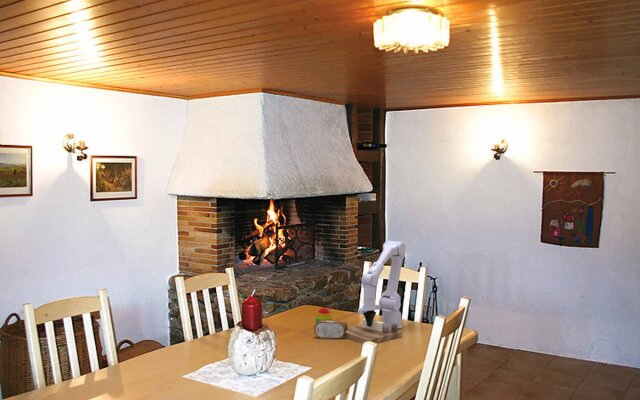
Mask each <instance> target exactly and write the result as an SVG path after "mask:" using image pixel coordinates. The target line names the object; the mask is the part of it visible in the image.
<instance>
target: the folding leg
mask: <svg viewBox="0 0 640 400" xmlns="http://www.w3.org/2000/svg"><path fill="white" fill-rule="evenodd" d="M362 324H363V328H367V329H371V330H375V331H380V332H383V333H389V323H384V322H382V321H381V320H380V321H379V320H376V321H375V320H374V319H373V321H372V325H371V327H369V326H367V323H366V319H365V318H363V319H362Z"/></svg>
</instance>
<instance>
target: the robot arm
mask: <svg viewBox="0 0 640 400" xmlns="http://www.w3.org/2000/svg"><path fill="white" fill-rule="evenodd" d="M406 248H407V246H406V244H405V243H404V241H397V240H396V241H395V240H388V239H387V240H385V242H384V243H383V244H382V252H381V253H380V255H379V257H378V259H377V261H374V262H373V263H372V265H371V266H370V268H369V269H368V271H367V272H366V273H364V274H362V277H361V279H360V282H361V284H362V289H363V305H362V307H360V308H358V309H357V314H359V315H363V317H364V319H366V323H367V326H369V327H371V325H372V321H373V320H374V318H375V316H376V315H377V310H381V311H382V321H381V322H384V323H389V328H390V329H391V324H398V330H399V329H401V328H402V329H403V326H402V313H401V311H400V308H401V305H402V304H401V303H402V302H401V295H400V294H399V293H398V288H399V281H400V275H401V270H402V265H403V260H404V259H405V255H406ZM389 259H391V265H390V271H389V275H388V280H387V285H386V290H385V291H383V292H382V293H381V296H380V298H379V300H378V304H376V293H377V292H376V288H377V287H376V286H377V285H378V284H379V279H380V275H382V274H381V273H382V272H383V271H384V269H385V267H384V265H385V264H386V263H387V262H388V260H389Z"/></svg>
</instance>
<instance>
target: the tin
mask: <svg viewBox="0 0 640 400" xmlns="http://www.w3.org/2000/svg"><path fill="white" fill-rule="evenodd" d="M342 322H343V321H340V320H320V321H318V322H317V323H316V322H315V325H314V329H313V330H314V334H315V335H316V337H318V338H320V339H331V340H332V339H333V340H340V339H342V338H344V337H343V336H344V334H345V332H346V327H345V325H344V323H342Z"/></svg>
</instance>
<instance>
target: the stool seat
mask: <svg viewBox="0 0 640 400" xmlns="http://www.w3.org/2000/svg"><path fill="white" fill-rule="evenodd" d="M375 321H377V320H375ZM341 322H342V323H344V325H345V327H346V332H345V334H344V336H343V337H342V338H345V339H348V340H351V341H354V342H357V343H360V344H363V343H364V342H365V341H372V342H375V343H377V344H381V343H384V342H388V341H391V340H396V339H399V338H402V337H403V335H402V334H403V332H402V331H400V330H399V329H398V324H391V329H390V328H389V333H383V332H380V331H375V330H371V329H367V328H363V323H362V324H357V325H353V326H348V322H347V321H341ZM363 345H364V344H363Z"/></svg>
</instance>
